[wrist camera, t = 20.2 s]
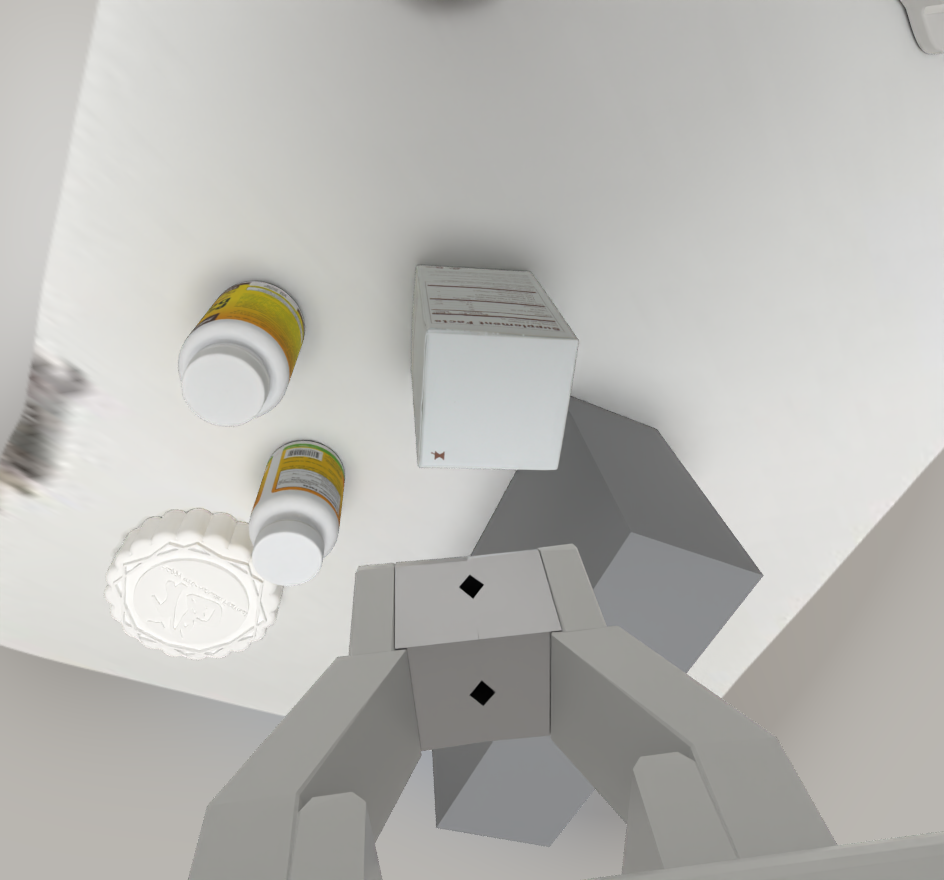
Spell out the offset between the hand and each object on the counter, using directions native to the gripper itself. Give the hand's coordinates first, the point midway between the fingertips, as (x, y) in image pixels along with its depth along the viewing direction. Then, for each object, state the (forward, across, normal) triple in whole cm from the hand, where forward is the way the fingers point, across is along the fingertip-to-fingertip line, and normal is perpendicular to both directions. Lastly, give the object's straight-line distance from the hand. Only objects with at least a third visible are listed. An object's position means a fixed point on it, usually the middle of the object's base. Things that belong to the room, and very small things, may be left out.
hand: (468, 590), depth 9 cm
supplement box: (+34, -3, +8) cm, 35 cm away
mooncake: (+34, +18, +26) cm, 47 cm away
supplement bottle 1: (+34, +10, +7) cm, 36 cm away
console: (+34, -7, +26) cm, 43 cm away
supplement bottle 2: (+34, +9, +18) cm, 40 cm away
